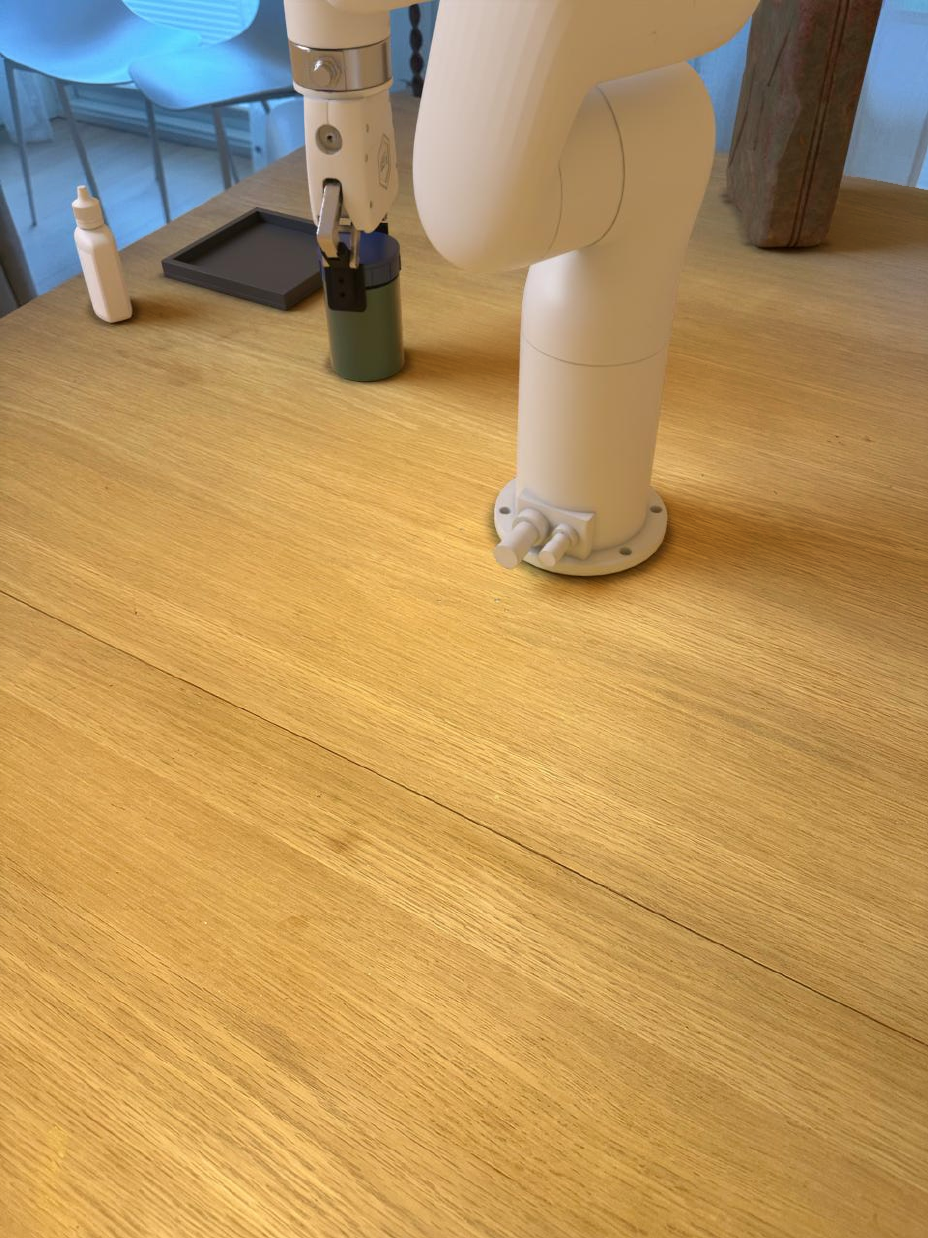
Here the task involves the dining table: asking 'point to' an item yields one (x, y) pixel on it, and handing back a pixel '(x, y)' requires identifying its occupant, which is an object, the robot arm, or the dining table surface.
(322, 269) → the jar lid
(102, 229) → the eye dropper bottle
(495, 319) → the dining table surface
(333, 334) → the jar
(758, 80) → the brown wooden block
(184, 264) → the tray
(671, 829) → the dining table surface
